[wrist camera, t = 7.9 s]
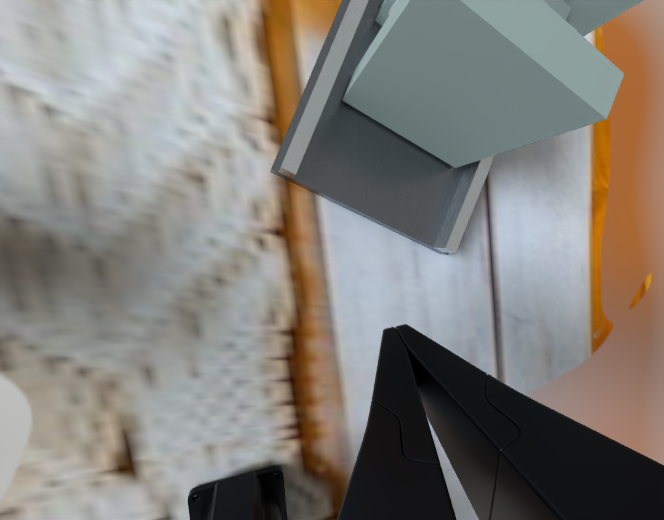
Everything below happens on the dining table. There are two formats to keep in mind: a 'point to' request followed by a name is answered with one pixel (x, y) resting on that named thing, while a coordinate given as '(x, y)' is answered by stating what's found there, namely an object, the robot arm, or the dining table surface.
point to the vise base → (372, 149)
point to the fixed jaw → (585, 15)
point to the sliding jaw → (481, 77)
